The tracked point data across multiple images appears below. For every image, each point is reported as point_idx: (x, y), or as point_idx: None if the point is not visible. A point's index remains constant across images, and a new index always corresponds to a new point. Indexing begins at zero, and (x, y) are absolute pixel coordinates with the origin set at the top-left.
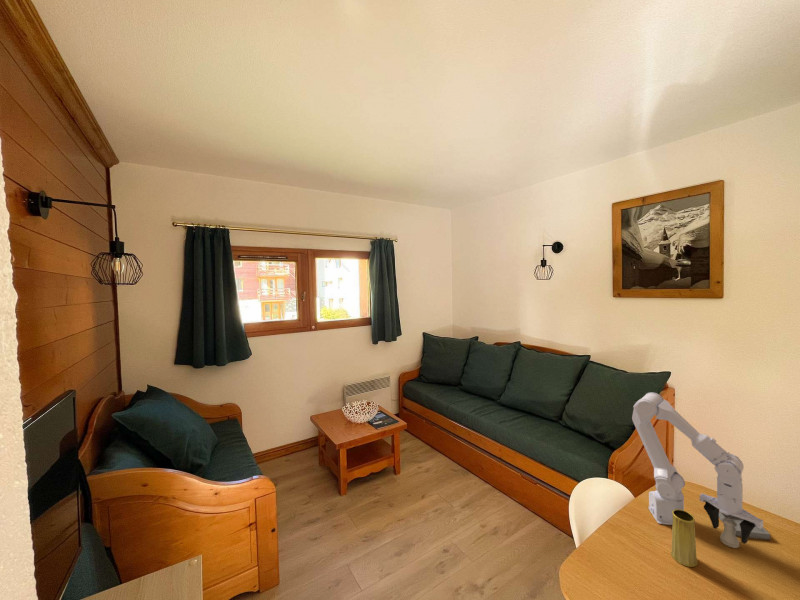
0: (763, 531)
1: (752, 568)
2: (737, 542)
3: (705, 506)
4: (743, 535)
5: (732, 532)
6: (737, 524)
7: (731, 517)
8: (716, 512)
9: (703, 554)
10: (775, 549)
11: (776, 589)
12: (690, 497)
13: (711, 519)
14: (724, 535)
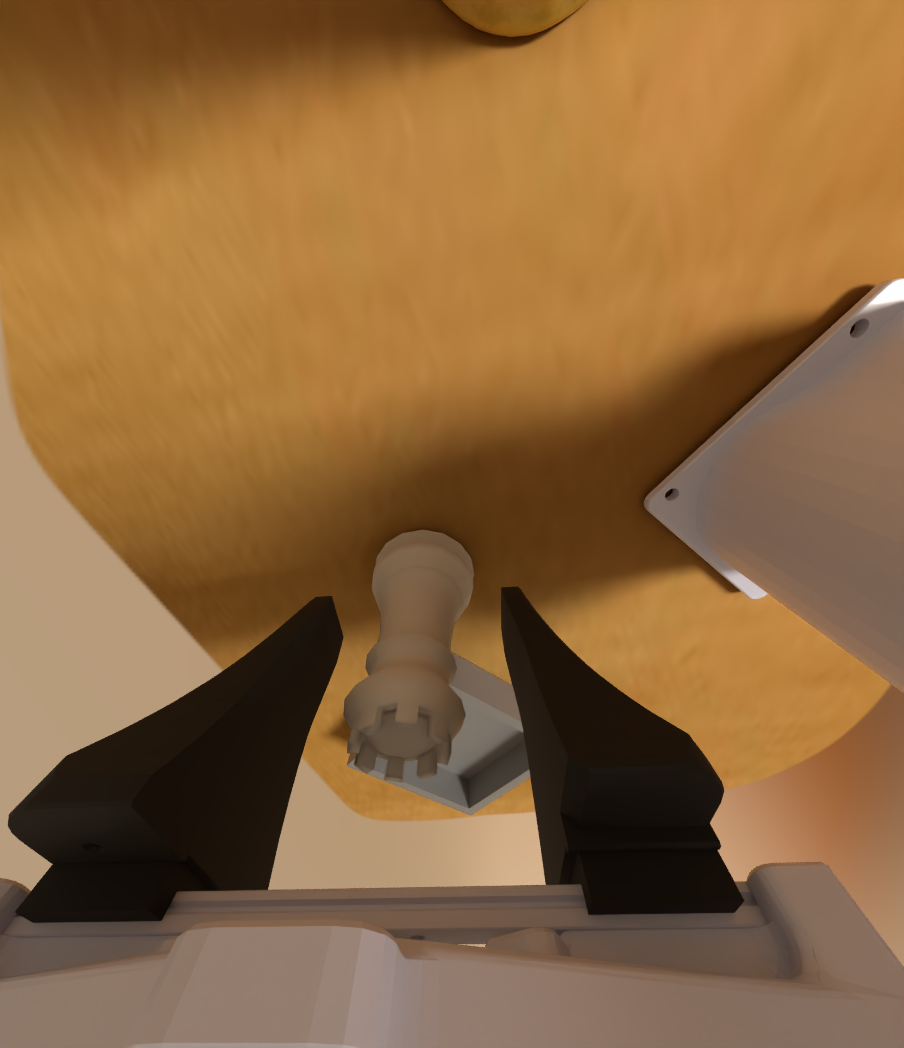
0: (381, 760)
1: (228, 451)
2: (373, 588)
3: (695, 795)
4: (266, 648)
5: (384, 630)
6: (476, 725)
7: (515, 748)
8: (538, 762)
9: (448, 237)
10: None
11: (41, 377)
12: (707, 744)
13: (545, 637)
14: (436, 576)
